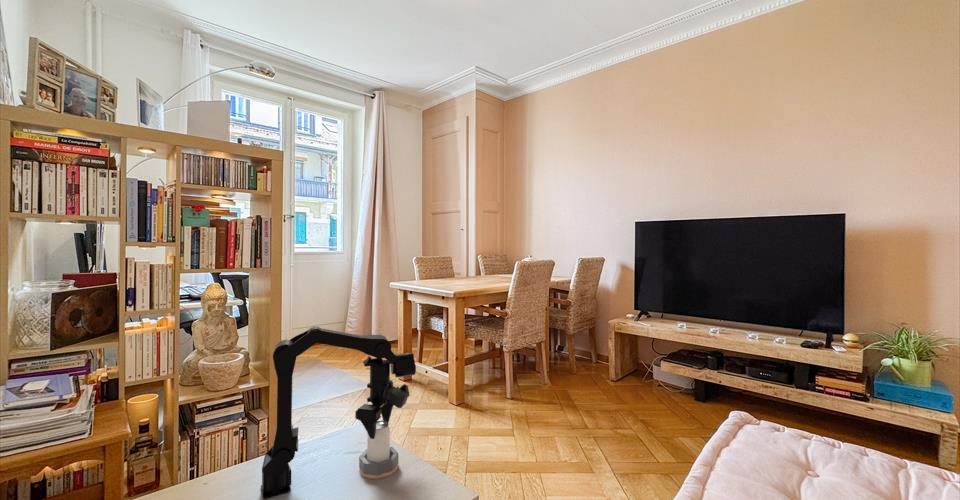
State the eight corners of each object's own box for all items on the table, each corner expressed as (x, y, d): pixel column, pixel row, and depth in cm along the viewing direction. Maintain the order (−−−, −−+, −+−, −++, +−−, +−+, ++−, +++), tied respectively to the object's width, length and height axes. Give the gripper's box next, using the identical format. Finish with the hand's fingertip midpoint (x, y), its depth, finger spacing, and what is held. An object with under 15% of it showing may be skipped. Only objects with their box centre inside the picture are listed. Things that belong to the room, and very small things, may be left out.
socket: (366, 483, 111) (366, 469, 111) (354, 465, 121) (354, 451, 121) (404, 471, 117) (404, 457, 117) (390, 454, 127) (390, 442, 127)
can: (392, 459, 122) (392, 420, 122) (385, 471, 115) (386, 430, 115) (371, 458, 122) (371, 419, 122) (363, 470, 116) (364, 429, 116)
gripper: (392, 392, 108) (392, 449, 108) (416, 371, 126) (416, 420, 127) (354, 389, 110) (354, 445, 110) (383, 368, 129) (383, 417, 129)
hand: (379, 431), depth 119 cm, fingers open, 9 cm apart
